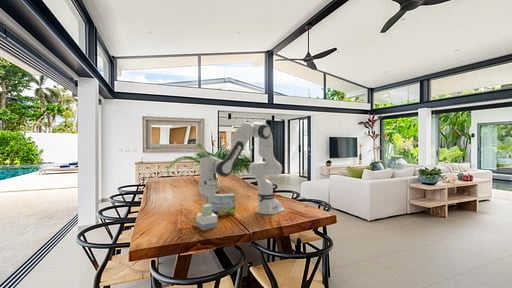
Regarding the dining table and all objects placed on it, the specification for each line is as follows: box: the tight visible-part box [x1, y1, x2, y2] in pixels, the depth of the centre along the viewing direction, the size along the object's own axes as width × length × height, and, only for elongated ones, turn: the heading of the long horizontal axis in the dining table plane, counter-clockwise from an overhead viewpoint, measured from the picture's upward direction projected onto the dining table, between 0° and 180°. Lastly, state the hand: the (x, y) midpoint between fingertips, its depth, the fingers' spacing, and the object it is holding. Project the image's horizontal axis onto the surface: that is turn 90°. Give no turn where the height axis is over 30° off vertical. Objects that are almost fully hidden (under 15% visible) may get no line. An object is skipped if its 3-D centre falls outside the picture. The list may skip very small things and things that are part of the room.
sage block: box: [201, 203, 212, 216], centre depth 153 cm, size 5×5×6 cm
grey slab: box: [195, 220, 218, 231], centre depth 153 cm, size 10×10×4 cm
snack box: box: [205, 193, 236, 216], centre depth 179 cm, size 21×6×15 cm, turn 101°
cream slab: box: [195, 212, 218, 225], centre depth 153 cm, size 10×10×4 cm
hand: (206, 201), depth 154 cm, fingers open, 8 cm apart
